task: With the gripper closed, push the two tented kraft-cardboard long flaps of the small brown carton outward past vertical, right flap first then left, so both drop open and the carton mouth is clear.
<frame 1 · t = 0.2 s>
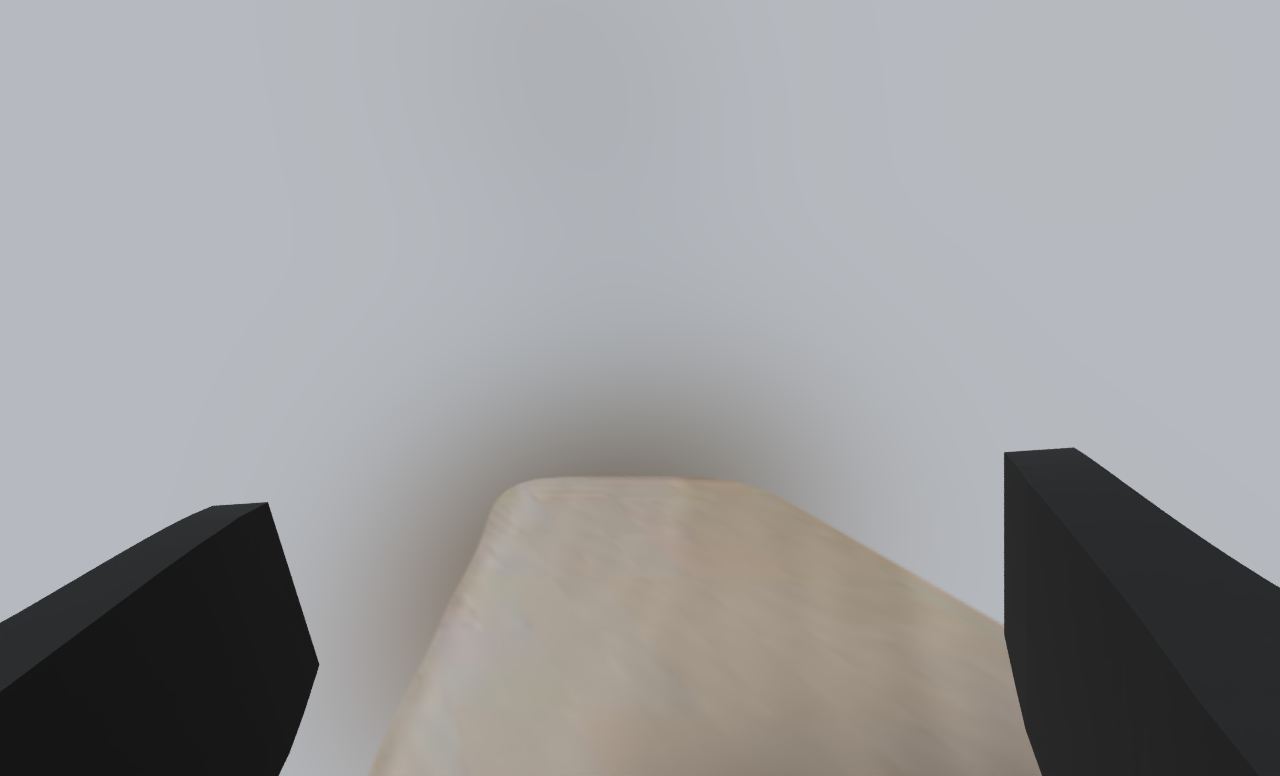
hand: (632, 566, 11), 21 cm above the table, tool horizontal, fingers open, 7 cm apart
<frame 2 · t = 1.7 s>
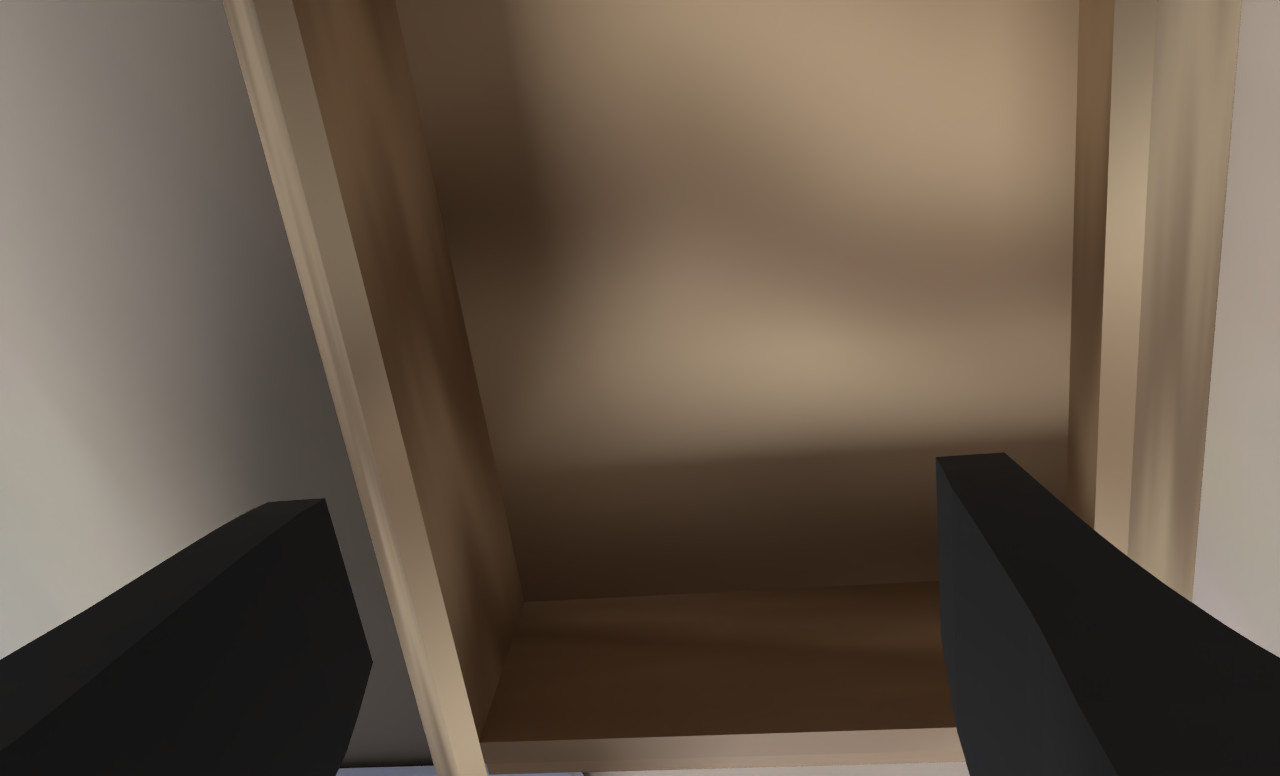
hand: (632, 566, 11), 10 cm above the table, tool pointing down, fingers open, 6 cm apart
carton: (750, 233, 20), on the table
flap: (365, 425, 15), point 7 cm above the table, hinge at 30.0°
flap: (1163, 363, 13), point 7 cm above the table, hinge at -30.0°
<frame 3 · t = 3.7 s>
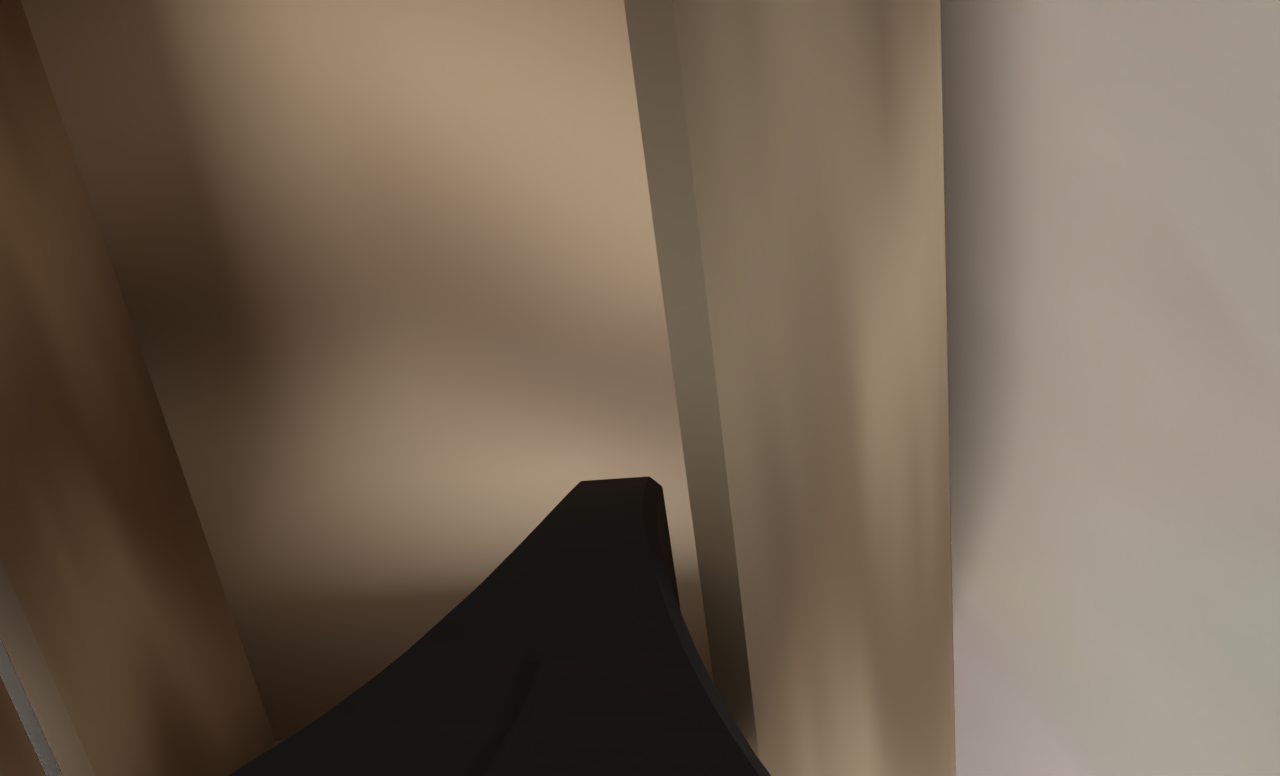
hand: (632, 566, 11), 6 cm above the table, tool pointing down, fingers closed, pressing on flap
carton: (489, 339, 17), on the table
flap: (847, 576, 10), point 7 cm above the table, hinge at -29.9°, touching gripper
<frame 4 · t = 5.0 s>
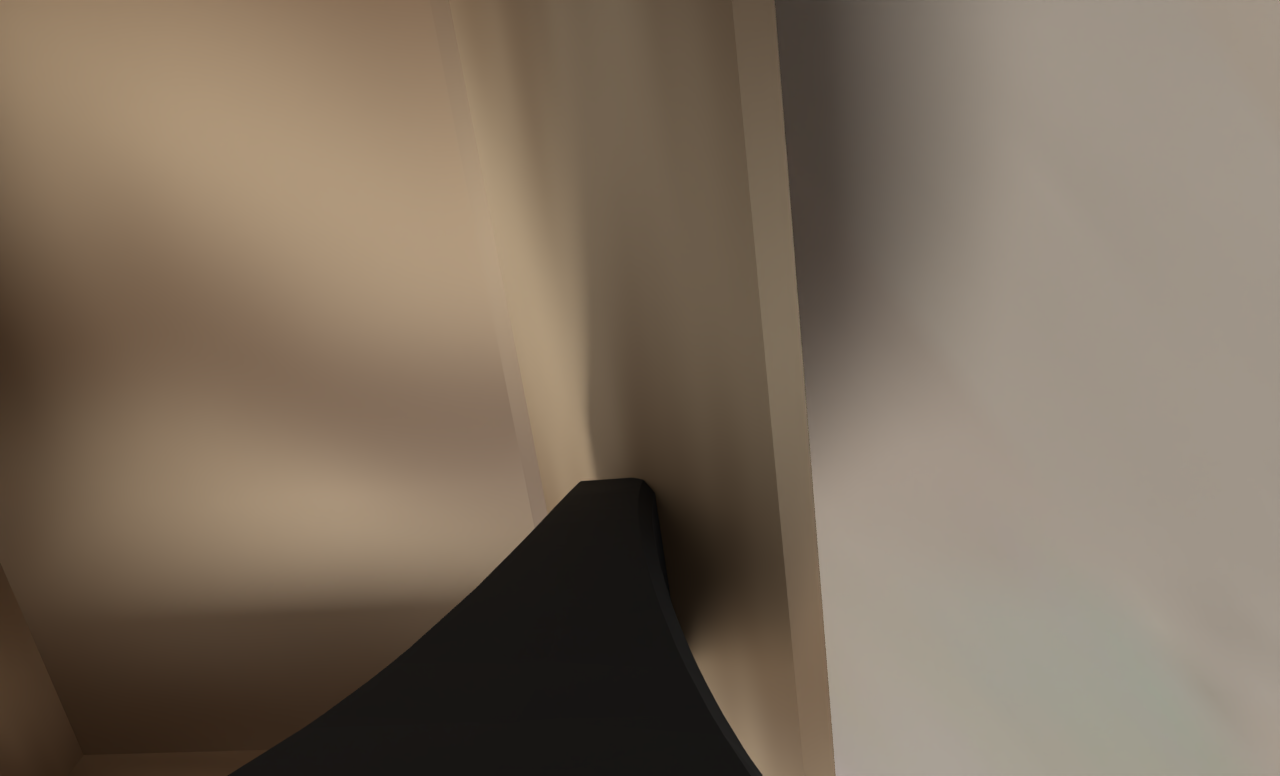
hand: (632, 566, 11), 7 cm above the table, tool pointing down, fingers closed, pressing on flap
carton: (250, 372, 18), on the table
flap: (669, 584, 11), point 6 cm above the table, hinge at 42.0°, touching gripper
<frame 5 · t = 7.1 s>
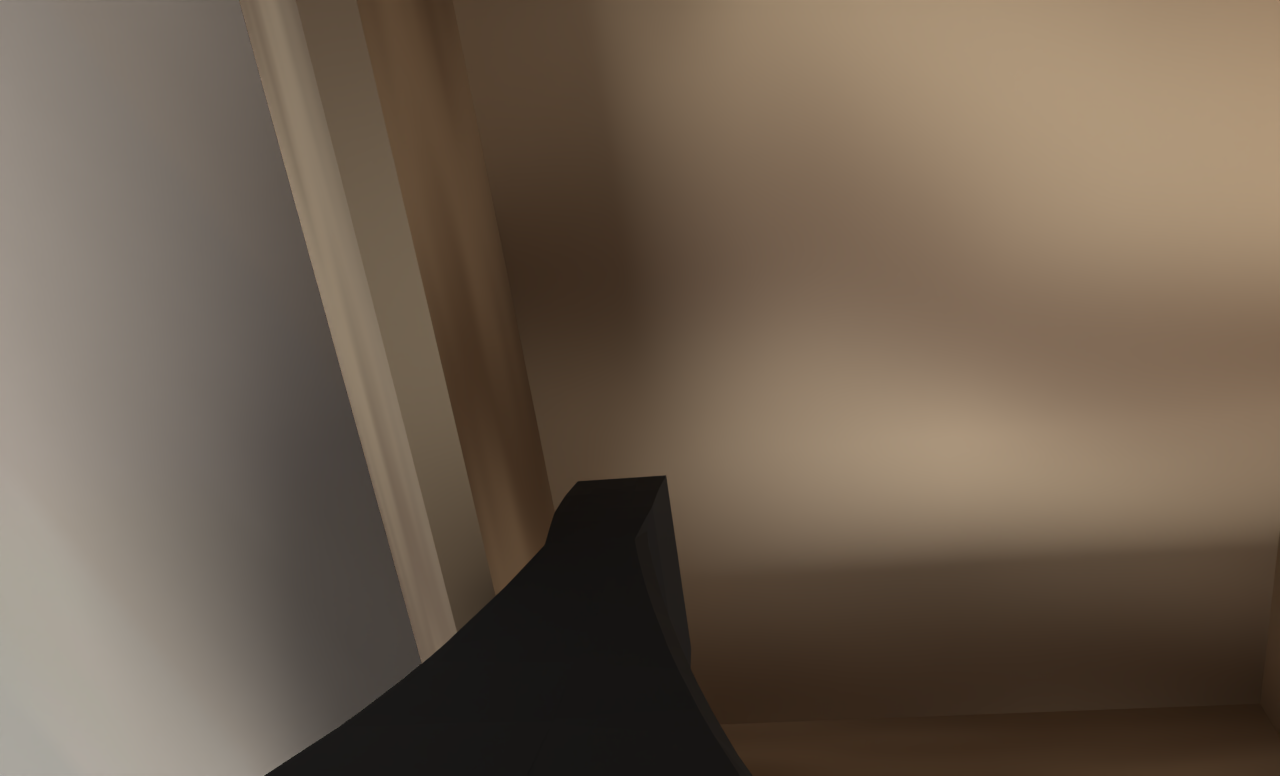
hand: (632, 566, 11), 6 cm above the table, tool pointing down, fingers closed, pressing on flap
carton: (892, 299, 16), on the table
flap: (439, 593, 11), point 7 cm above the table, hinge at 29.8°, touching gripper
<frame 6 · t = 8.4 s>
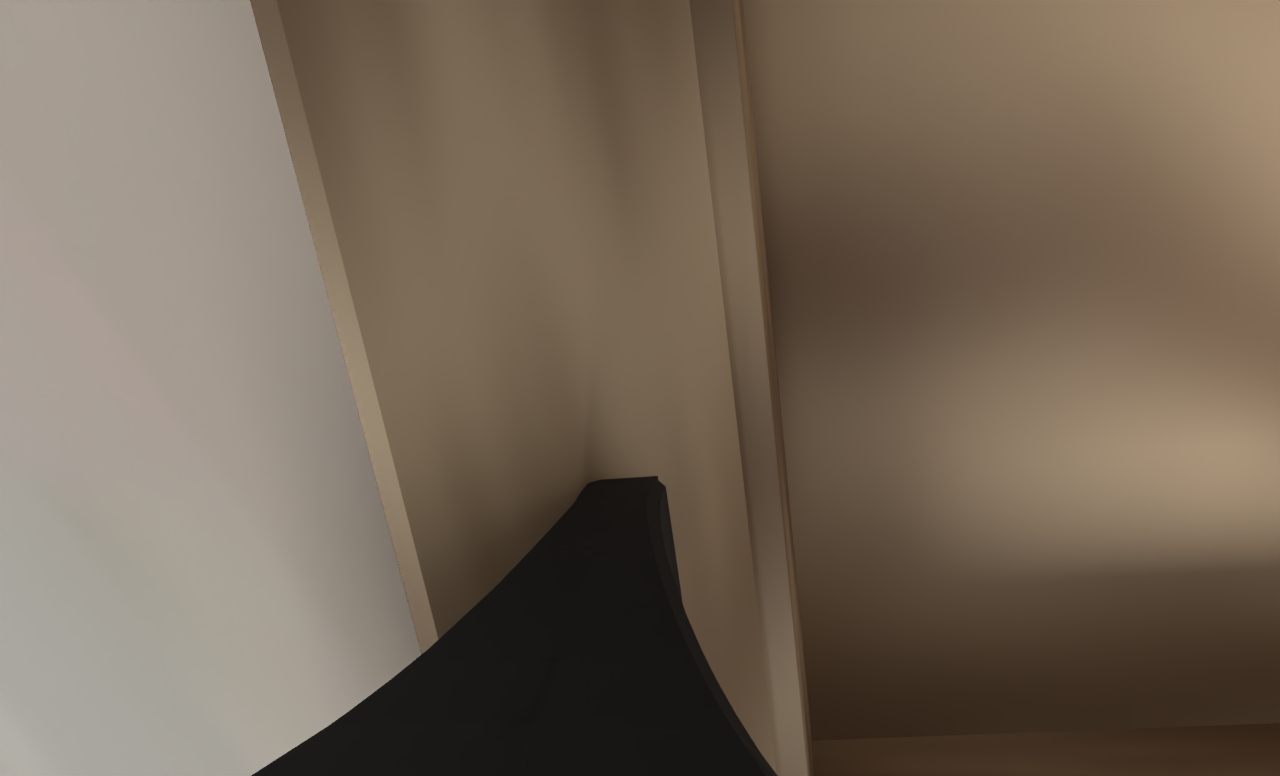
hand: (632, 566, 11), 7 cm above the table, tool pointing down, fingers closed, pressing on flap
carton: (1158, 303, 16), on the table
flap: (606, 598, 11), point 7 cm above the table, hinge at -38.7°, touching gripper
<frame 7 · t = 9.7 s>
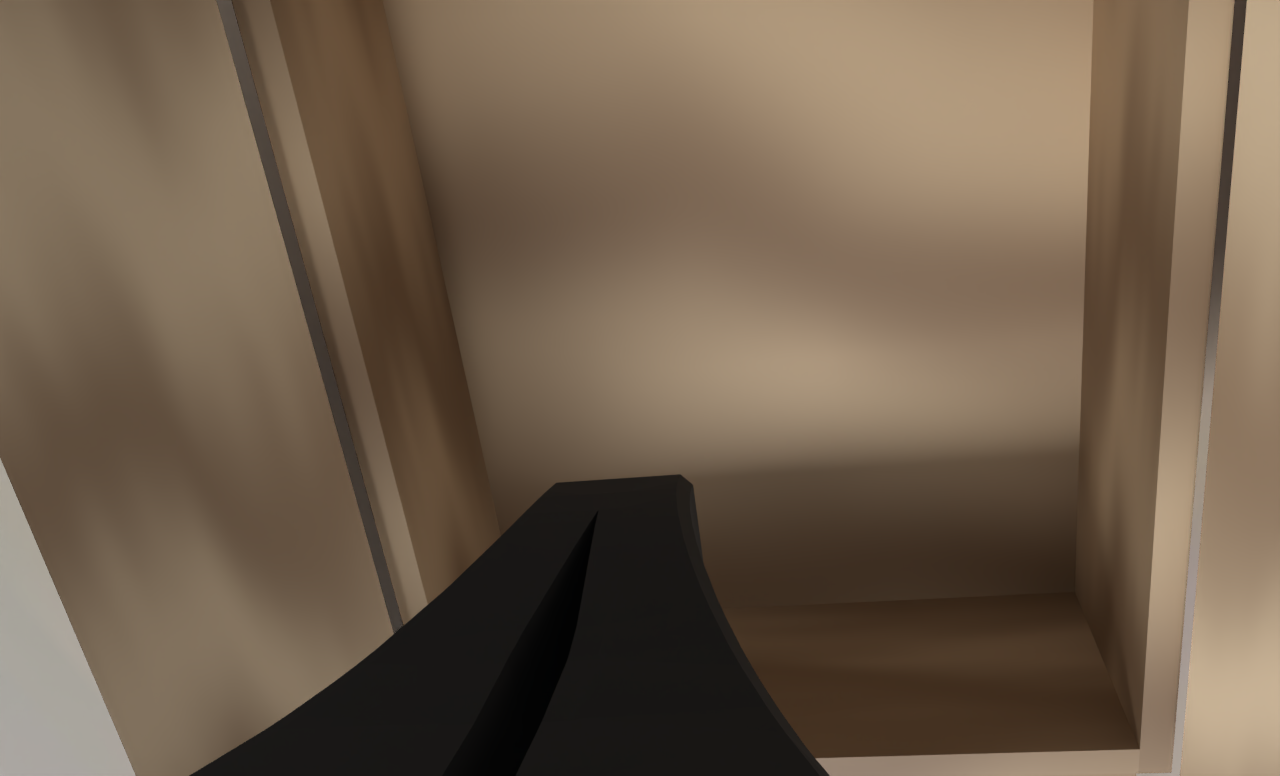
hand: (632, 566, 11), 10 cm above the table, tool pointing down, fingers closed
carton: (751, 242, 19), on the table
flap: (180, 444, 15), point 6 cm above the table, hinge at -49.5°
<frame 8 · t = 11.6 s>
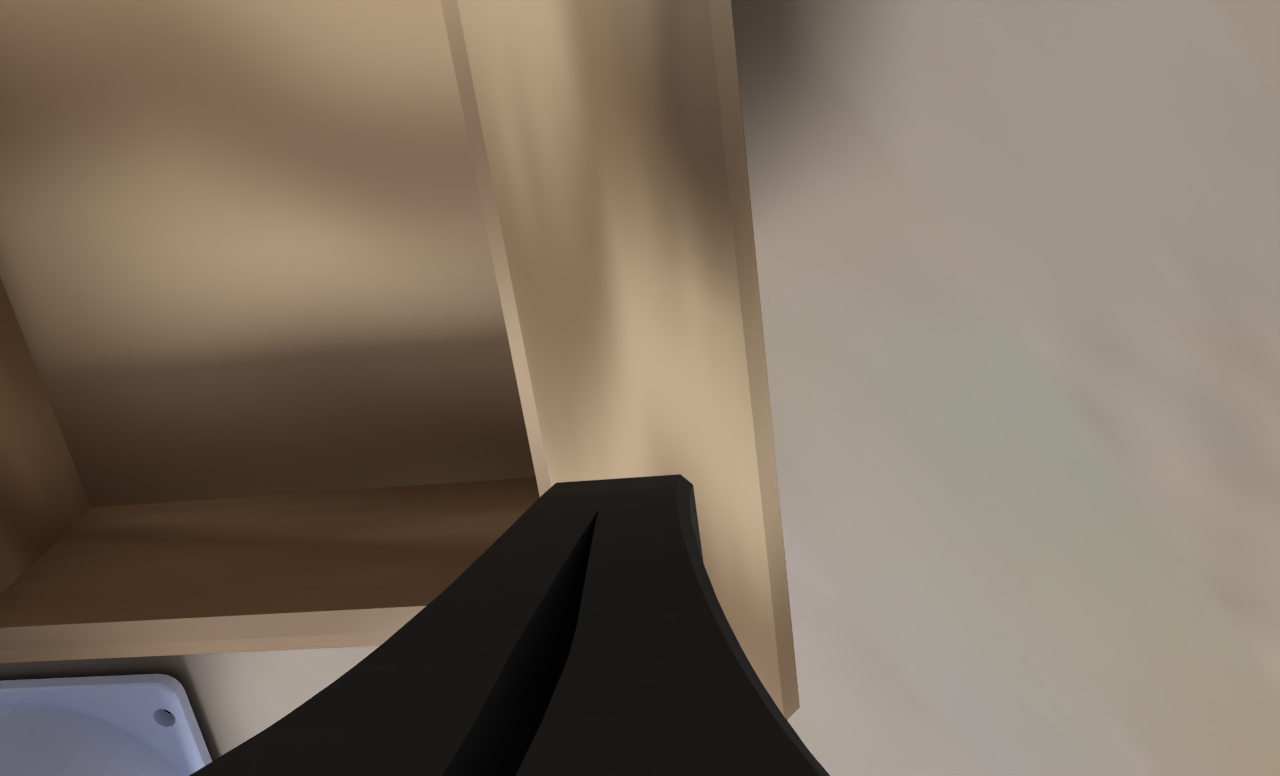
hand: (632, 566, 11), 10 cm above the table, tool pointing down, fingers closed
carton: (237, 124, 20), on the table
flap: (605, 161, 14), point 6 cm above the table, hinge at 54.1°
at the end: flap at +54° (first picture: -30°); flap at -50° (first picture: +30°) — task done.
